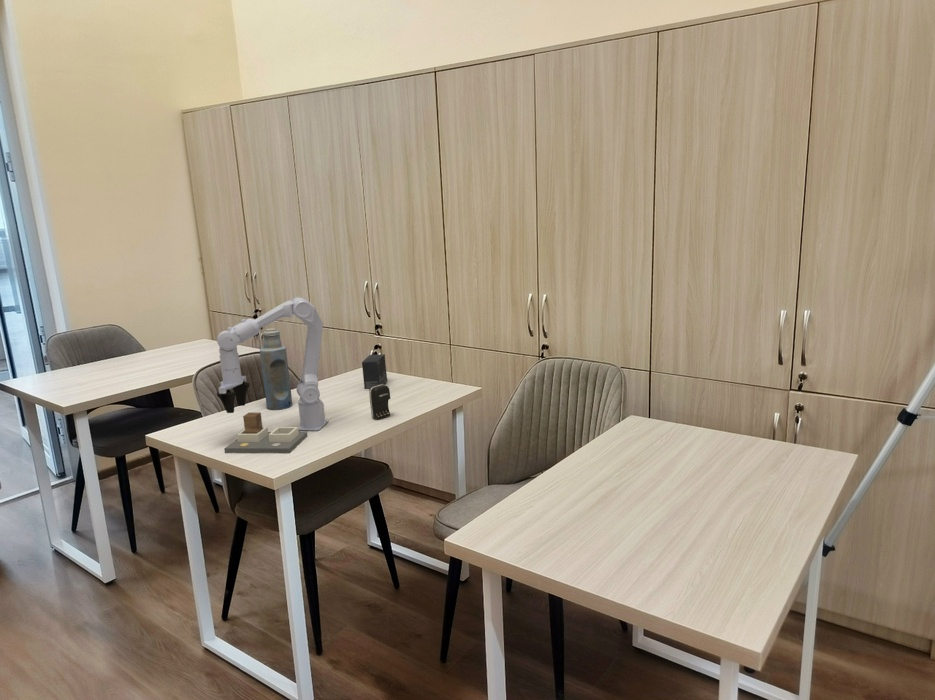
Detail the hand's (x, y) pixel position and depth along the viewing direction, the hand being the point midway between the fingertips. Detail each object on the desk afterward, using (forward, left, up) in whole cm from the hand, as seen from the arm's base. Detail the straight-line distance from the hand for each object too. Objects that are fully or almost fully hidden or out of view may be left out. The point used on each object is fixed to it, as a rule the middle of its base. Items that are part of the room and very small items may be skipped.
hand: (236, 409), depth 214 cm
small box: (-64, +28, -11) cm, 71 cm away
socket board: (+5, +12, -10) cm, 16 cm away
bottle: (-36, -2, -11) cm, 38 cm away
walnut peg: (+3, +7, -9) cm, 12 cm away
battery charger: (-22, +42, -11) cm, 49 cm away
